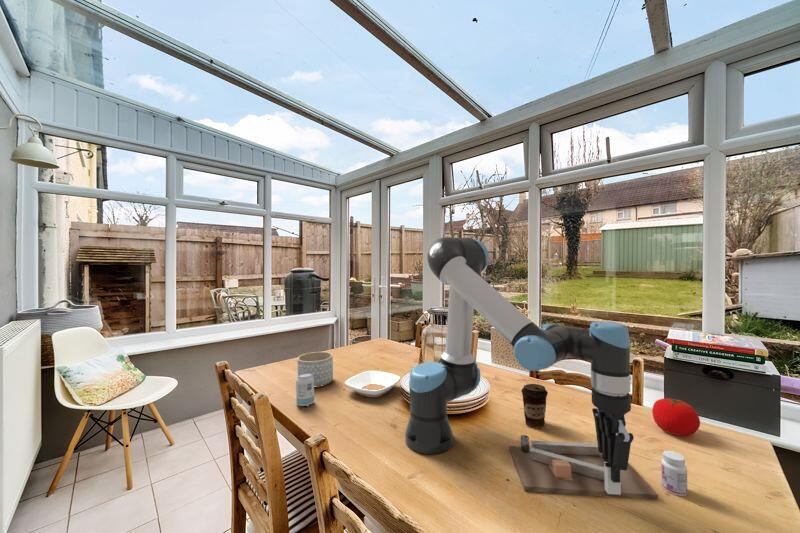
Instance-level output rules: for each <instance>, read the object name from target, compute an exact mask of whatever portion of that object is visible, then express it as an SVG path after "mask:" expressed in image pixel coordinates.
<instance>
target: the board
mask: <svg viewBox="0 0 800 533" xmlns="http://www.w3.org/2000/svg"><path fill="white" fill-rule="evenodd" d="M508 449H509V454H510V455H511V459H512V460H513V463H514V466H515V470H516V472H517V475H518V477H519V480H520V483H521V486H522V488H523V490H524V491H523V492H534V493H548V494H549V493H550V494H562V495H563V494H565V495H577V494H578V495H579V496H591V495H592V496H595V497H606V496H610V497H609V498H620V499H621V498H622V499H623V498H626V499H637V500H638V499H639V500H641V499H642V500H650V501H651V500H653V501H654V500H655V501H659V498H660V497H659V493H657V492H656V491H655V489H654V488H653V487H652V486H651V485H650V484H649V482H647V481H646V480H645V479H644V478H643V477H642V476H641V475H640V473H638V472H637V470H635V468H634V467H633V466H632V465H631V464H630V463H629V462H628V467H627V470H620V480H621V495H617V494H608V493H607V492H606V490H605V481H603V480H600V479H596V478H593V477H589V476H586V475H583V474H579V473H576V472H572V471H571V478H562V477H556V476H555V474H554V472H553V466H552V465H548V464H545V463H542V462H538V461H535V460H531V459H530V449H531V446H529V453H524V452H522V451H521V446H516V445H515V446H511V445H509V446H508ZM554 454H556V453H554ZM558 455H561V456H565V457H569V458H572V459H576V460H580V461H583V462H587V463H590V464H594V465H598V466H601V467H604V462H605V461H604V460H603V458H602V453H600V456H595V455H575V454H558ZM578 495H577V496H578Z"/></svg>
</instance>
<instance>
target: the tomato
mask: <svg viewBox="0 0 800 533" xmlns="http://www.w3.org/2000/svg"><path fill="white" fill-rule="evenodd" d="M651 413H652V417H653V420H654V422H655V425H657V426H658V428H660V429H661V430H663V431H664V432H666V433H668V434H671V435H675V436H679V437H689V436H692V435H694V434H696V433H697V431H699V428H700V426H701V420H700V416H699V415H698V413H697V411H696V410H695V408H693V406H692V405H690V404H689V403H687V402H686V401H683V400H680V399H674V398H671V397H670V398H661V399H657V400H656V401H654V403H653V404H652V412H651Z"/></svg>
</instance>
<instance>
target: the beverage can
mask: <svg viewBox="0 0 800 533" xmlns="http://www.w3.org/2000/svg"><path fill="white" fill-rule="evenodd" d="M295 392H296V394H295V395H296V398H295V399H296V400H295V401H296V405H297V406H299V407H301V406H307V405H310V404H311V405H312V404H313V403H314V402H315V388H314V378H313V376H312V374H311V373H301V374H299V375H298V374H297V377H296V379H295ZM311 405H310V406H311ZM307 407H308V406H307Z"/></svg>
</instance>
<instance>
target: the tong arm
mask: <svg viewBox="0 0 800 533" xmlns="http://www.w3.org/2000/svg"><path fill="white" fill-rule="evenodd" d="M530 447H531V446H530ZM530 459H531V460H535V461H538V462H542V463H545V464H548V465H552V466H553V460H567V461H568V462H569V464H570V465H571V471H572V472H576V473H579V474H583V475H586V476H589V477H593V478H596V479H600V480H603V481H605V479H604V467H601V466H598V465H594V464H590V463H587V462H583V461H580V460H576V459H572V458H569V457H565V456H561V455H558V454H554V453H550V452H547V451H543V450H539V449H536V448H532V447H531V449H530Z"/></svg>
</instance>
